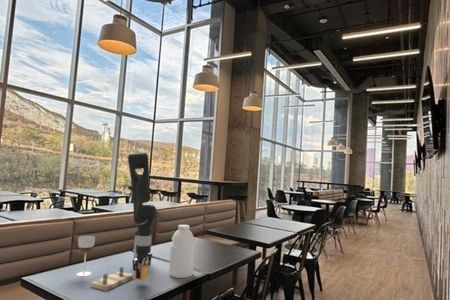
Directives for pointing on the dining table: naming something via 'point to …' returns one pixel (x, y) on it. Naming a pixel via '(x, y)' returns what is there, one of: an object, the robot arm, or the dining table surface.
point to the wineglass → (85, 250)
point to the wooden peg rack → (112, 280)
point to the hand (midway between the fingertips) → (141, 276)
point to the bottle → (182, 253)
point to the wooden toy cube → (143, 272)
